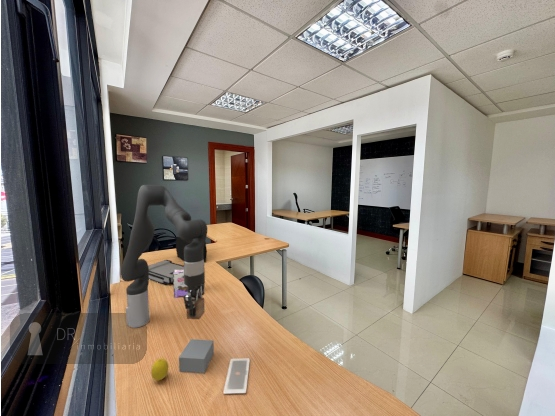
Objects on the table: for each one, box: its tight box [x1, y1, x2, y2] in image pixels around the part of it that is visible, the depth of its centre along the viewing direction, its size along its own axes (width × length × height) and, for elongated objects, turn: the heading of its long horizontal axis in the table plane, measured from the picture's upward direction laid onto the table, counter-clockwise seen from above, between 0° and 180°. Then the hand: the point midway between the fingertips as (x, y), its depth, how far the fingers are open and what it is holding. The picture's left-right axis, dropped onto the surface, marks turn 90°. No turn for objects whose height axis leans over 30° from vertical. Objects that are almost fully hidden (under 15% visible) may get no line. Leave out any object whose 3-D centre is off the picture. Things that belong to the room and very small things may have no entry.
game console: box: [148, 259, 184, 286], centre depth 168 cm, size 21×32×8 cm, turn 62°
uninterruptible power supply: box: [175, 236, 208, 264], centre depth 206 cm, size 16×34×20 cm, turn 44°
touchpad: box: [222, 358, 251, 395], centre depth 83 cm, size 8×15×2 cm, turn 2°
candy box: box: [173, 269, 188, 299], centre depth 142 cm, size 14×6×16 cm, turn 105°
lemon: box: [150, 358, 169, 381], centre depth 81 cm, size 6×6×8 cm
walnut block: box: [186, 297, 206, 320], centre depth 87 cm, size 5×5×6 cm
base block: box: [178, 338, 215, 374], centre depth 89 cm, size 10×10×6 cm
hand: (195, 311), depth 87 cm, fingers closed on walnut block, 5 cm apart
